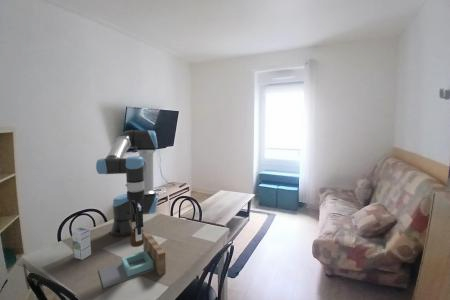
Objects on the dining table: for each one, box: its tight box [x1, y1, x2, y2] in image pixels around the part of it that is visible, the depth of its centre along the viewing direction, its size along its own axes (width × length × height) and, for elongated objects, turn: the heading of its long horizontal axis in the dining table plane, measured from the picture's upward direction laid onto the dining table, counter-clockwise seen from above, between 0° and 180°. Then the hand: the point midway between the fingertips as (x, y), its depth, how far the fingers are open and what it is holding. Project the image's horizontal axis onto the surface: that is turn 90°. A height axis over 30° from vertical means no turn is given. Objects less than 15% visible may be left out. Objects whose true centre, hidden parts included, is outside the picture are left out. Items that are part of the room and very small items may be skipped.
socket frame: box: [121, 250, 154, 277], centre depth 109 cm, size 12×12×3 cm
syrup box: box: [71, 226, 92, 261], centre depth 117 cm, size 6×6×14 cm
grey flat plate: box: [98, 259, 156, 289], centre depth 107 cm, size 14×22×1 cm, turn 126°
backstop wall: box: [142, 231, 167, 276], centre depth 114 cm, size 24×3×10 cm, turn 36°
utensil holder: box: [129, 220, 144, 248], centre depth 108 cm, size 6×6×12 cm
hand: (137, 237), depth 108 cm, fingers closed on utensil holder, 6 cm apart
